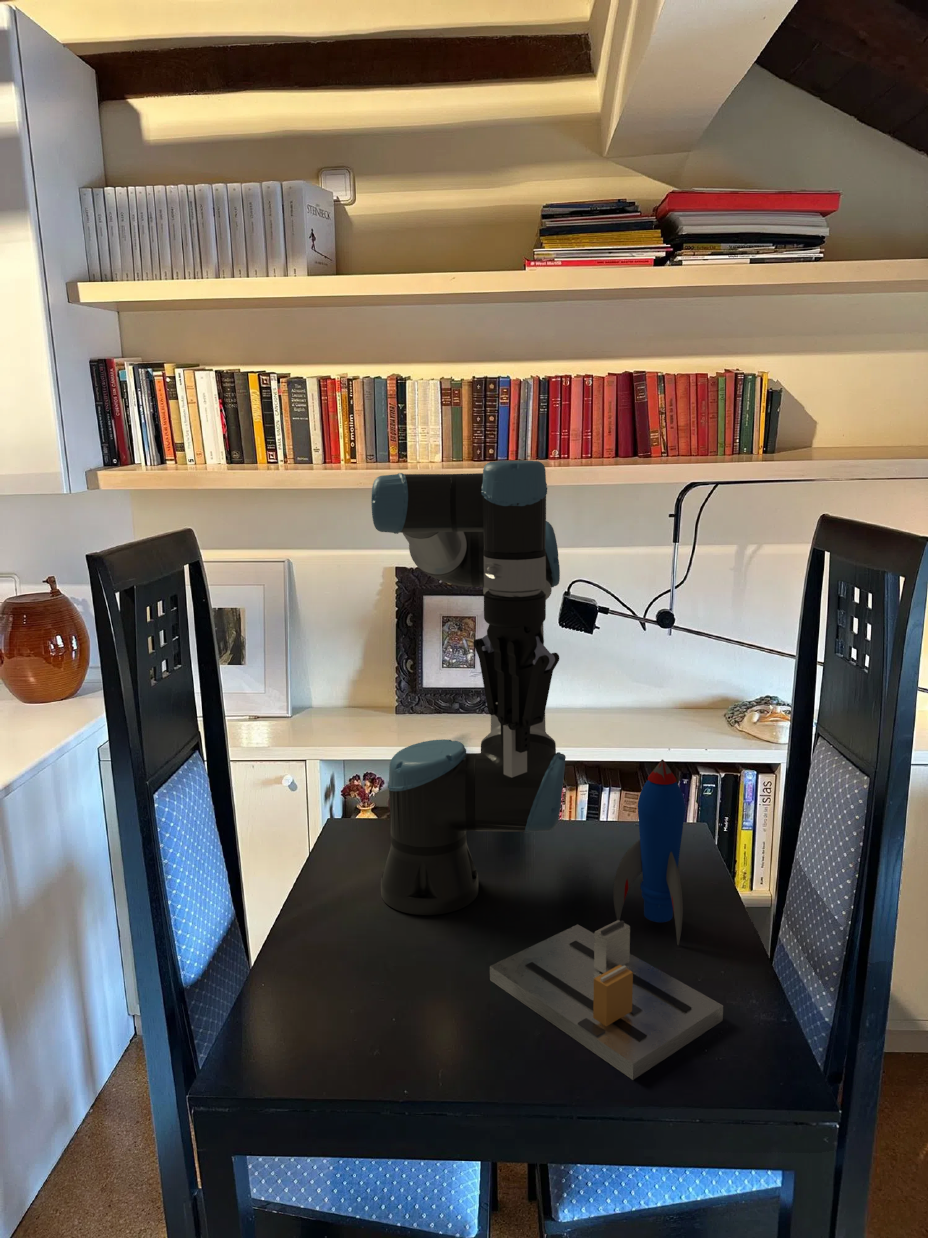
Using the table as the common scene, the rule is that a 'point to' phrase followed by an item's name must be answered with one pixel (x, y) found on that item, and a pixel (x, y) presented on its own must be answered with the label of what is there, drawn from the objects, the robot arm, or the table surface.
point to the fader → (613, 995)
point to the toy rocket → (656, 851)
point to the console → (564, 996)
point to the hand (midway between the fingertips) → (515, 772)
